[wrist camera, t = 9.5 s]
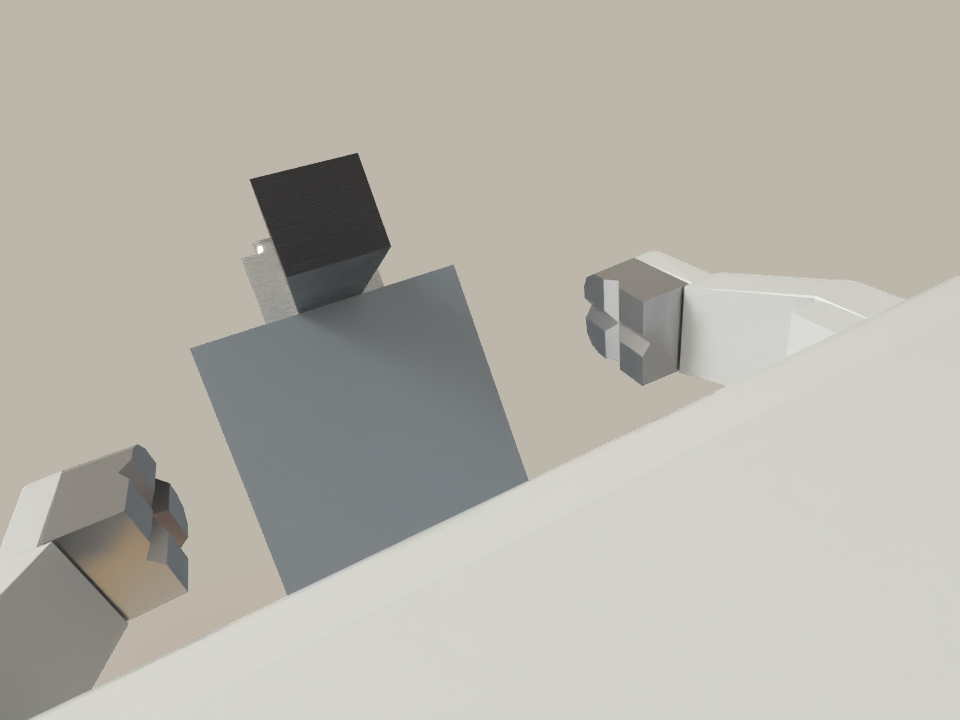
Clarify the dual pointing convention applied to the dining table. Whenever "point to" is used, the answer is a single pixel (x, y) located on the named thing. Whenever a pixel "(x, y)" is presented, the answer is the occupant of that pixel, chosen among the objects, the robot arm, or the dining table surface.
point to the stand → (361, 422)
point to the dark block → (316, 238)
